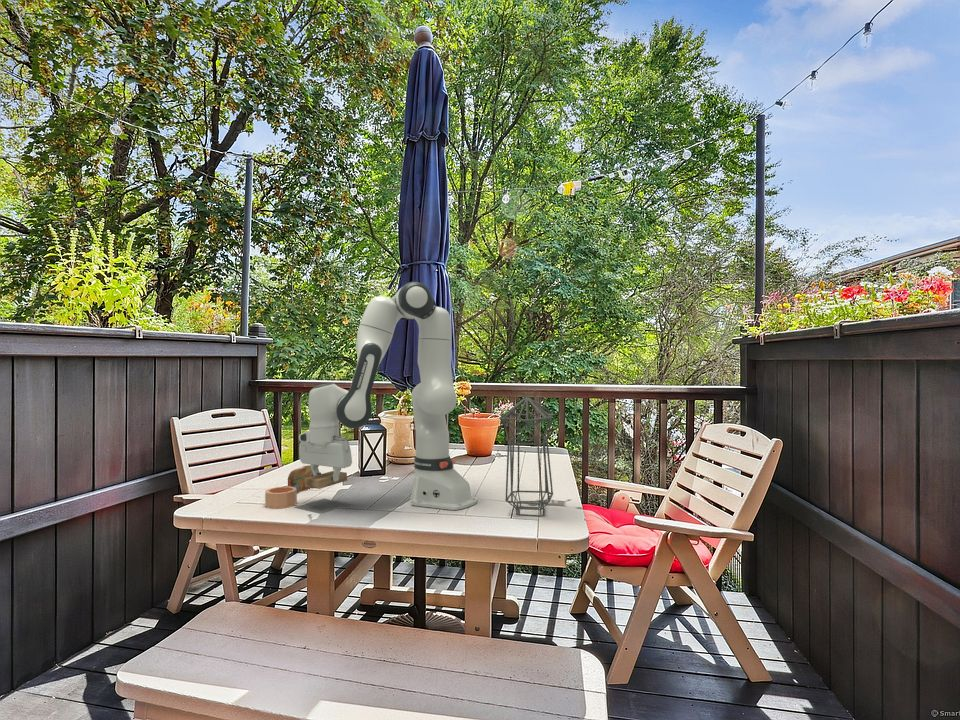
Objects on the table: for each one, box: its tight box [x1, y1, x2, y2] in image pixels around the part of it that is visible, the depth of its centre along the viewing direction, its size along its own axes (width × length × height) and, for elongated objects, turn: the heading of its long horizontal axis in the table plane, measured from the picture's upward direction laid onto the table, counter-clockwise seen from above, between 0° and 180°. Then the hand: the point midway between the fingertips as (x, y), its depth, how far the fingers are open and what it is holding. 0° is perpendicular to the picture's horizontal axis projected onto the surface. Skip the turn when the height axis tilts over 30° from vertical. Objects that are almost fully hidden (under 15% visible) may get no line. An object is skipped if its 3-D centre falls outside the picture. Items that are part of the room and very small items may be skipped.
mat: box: [293, 498, 351, 515], centre depth 155 cm, size 12×12×1 cm
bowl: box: [264, 486, 298, 510], centre depth 156 cm, size 9×9×5 cm
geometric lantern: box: [499, 397, 555, 517], centre depth 151 cm, size 16×16×35 cm
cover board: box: [305, 470, 348, 490], centre depth 155 cm, size 6×11×2 cm, turn 148°
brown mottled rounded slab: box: [287, 464, 314, 495], centre depth 175 cm, size 15×3×8 cm, turn 168°
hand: (326, 479), depth 155 cm, fingers closed on cover board, 6 cm apart
